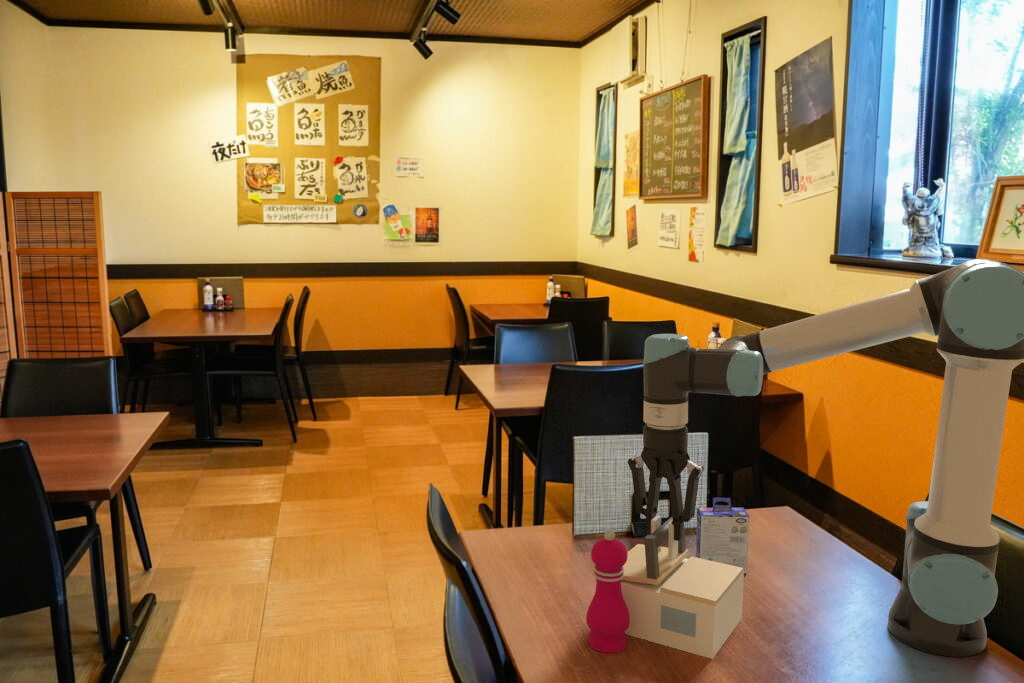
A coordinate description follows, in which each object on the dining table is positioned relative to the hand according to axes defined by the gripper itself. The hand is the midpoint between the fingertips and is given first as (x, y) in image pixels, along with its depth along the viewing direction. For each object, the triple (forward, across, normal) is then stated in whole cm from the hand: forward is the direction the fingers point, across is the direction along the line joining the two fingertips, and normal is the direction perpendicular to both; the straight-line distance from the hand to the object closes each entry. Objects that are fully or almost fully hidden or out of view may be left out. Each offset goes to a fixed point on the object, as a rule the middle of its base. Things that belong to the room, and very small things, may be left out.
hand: (664, 554), depth 148 cm
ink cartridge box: (+13, +2, +27) cm, 30 cm away
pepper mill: (+12, -5, -13) cm, 18 cm away
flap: (+3, -3, 0) cm, 4 cm away
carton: (+12, +2, 0) cm, 12 cm away
